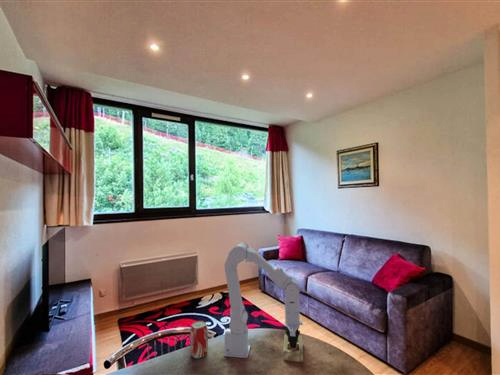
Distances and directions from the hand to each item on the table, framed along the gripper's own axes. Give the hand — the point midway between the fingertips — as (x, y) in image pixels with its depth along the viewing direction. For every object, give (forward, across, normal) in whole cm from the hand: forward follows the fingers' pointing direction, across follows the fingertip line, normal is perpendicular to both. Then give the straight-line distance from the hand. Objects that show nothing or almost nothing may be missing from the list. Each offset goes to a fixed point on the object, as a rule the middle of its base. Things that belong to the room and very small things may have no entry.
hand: (293, 345), depth 100 cm
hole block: (+4, +3, 0) cm, 5 cm away
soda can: (+4, -4, +38) cm, 38 cm away
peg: (+3, 0, 0) cm, 3 cm away
